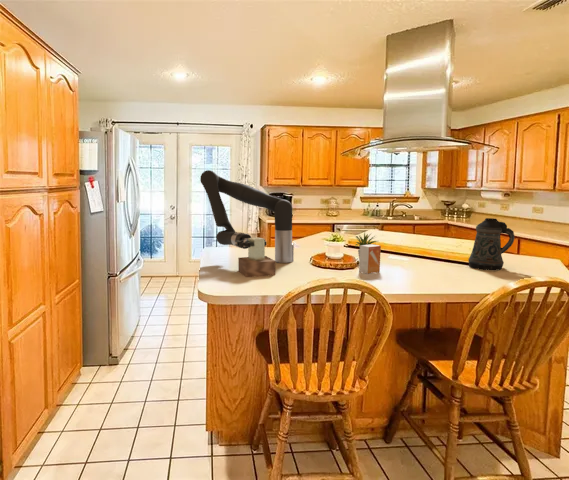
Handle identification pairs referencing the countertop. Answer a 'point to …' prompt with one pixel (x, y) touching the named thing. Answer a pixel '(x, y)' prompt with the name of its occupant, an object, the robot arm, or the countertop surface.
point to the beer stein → (489, 245)
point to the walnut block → (256, 267)
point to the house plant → (364, 242)
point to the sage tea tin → (256, 249)
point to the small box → (369, 258)
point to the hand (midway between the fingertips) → (257, 244)
